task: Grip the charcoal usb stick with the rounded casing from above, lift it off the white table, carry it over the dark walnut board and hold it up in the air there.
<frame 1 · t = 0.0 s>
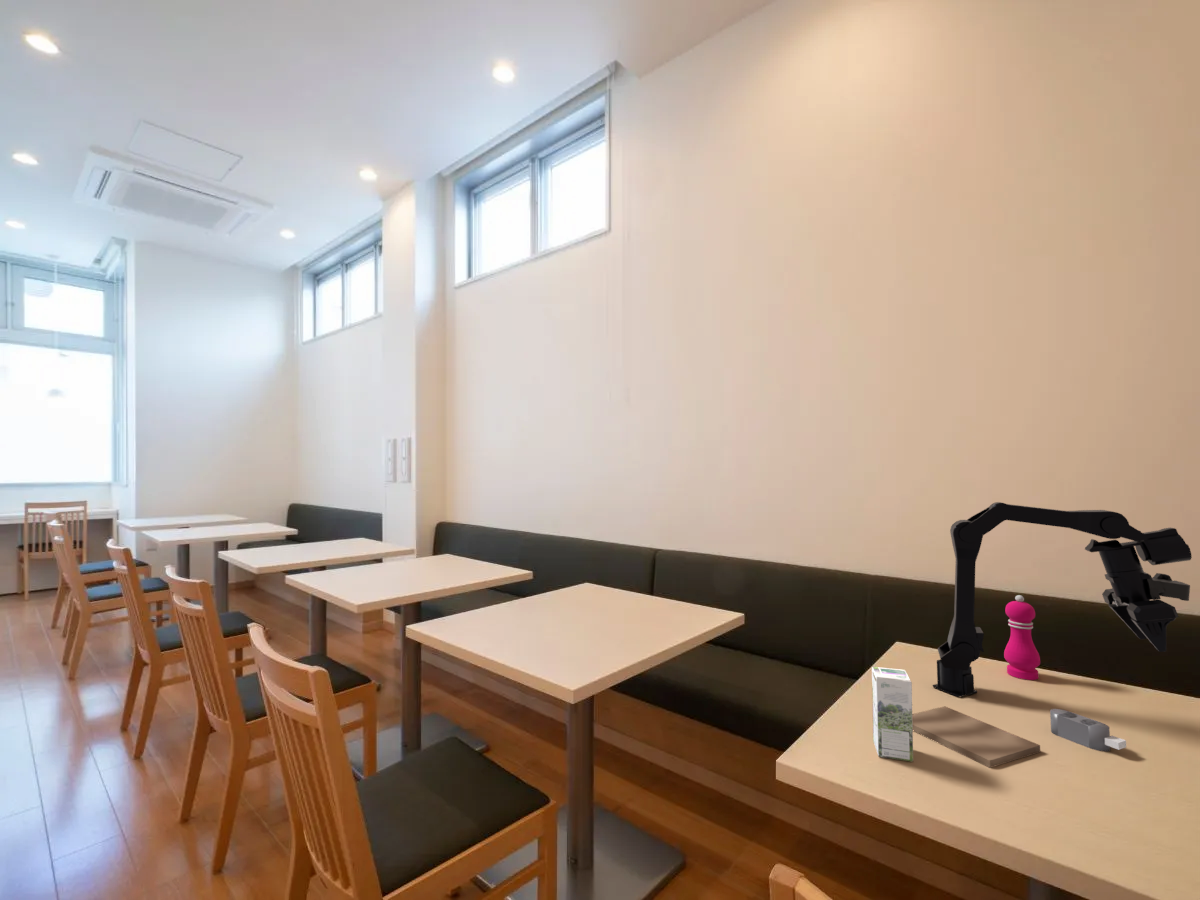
hand: (1152, 644, 111), 15 cm above the table, tool pointing down, fingers open, 9 cm apart
syrup box: (893, 753, 99), on the table
charcoal usb stick: (1079, 740, 103), on the table
walnut board: (965, 736, 104), on the table
pepper mill: (1022, 676, 136), on the table
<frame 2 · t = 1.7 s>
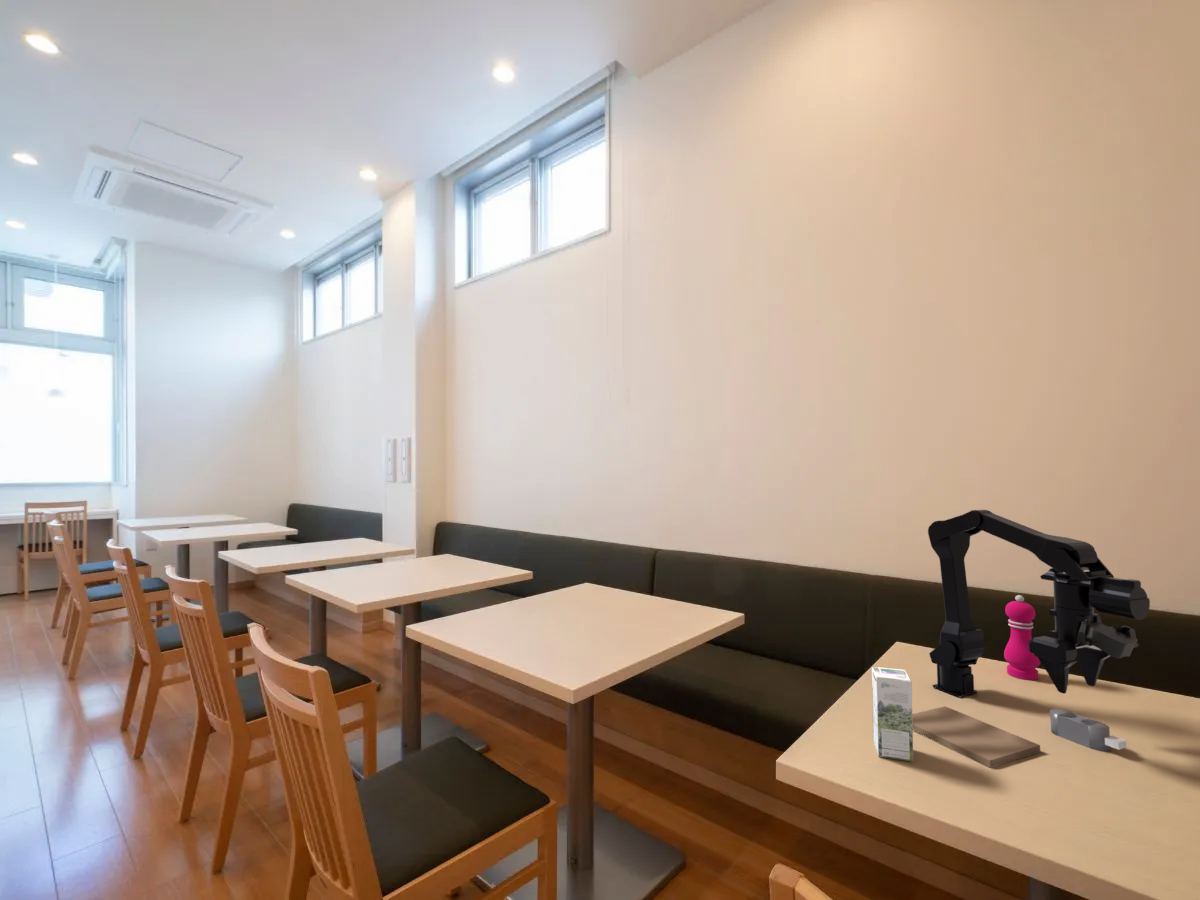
hand: (1076, 689, 104), 9 cm above the table, tool pointing down, fingers open, 9 cm apart
nothing on the table moved.
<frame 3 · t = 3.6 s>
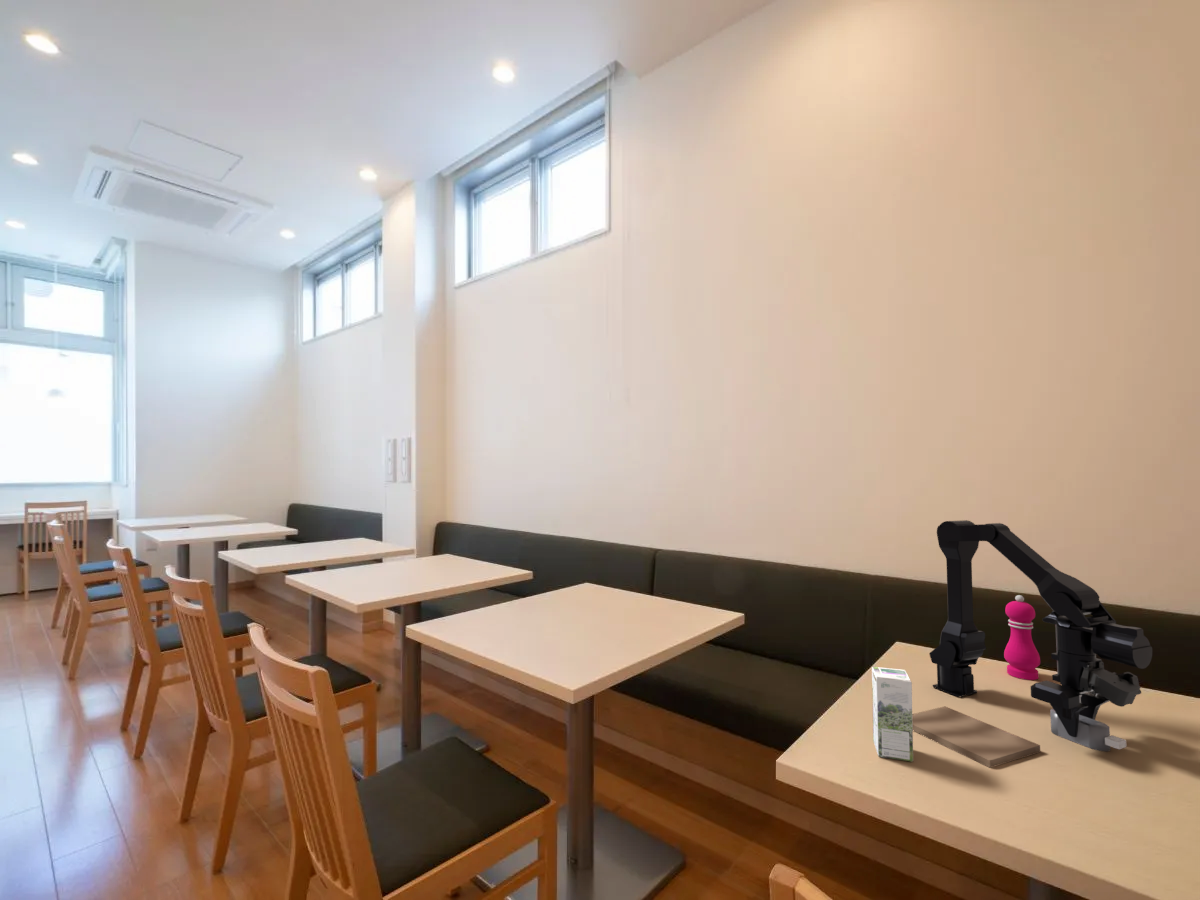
hand: (1079, 734, 103), 1 cm above the table, tool pointing down, fingers closed on charcoal usb stick, 4 cm apart
charcoal usb stick: (1079, 739, 103), on the table, touching gripper
everything else where it was.
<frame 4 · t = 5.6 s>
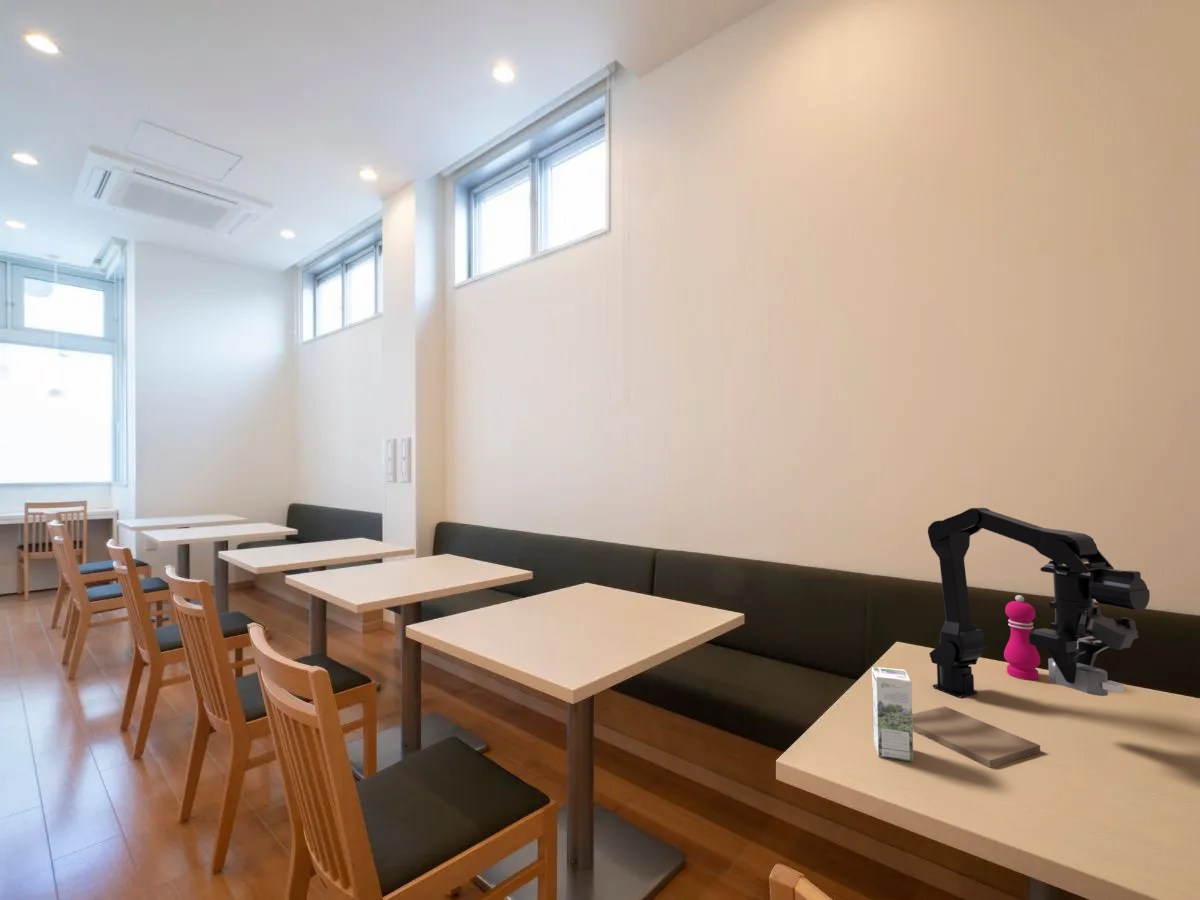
hand: (1077, 681, 104), 11 cm above the table, tool pointing down, fingers closed on charcoal usb stick, 4 cm apart
charcoal usb stick: (1077, 686, 103), point 10 cm above the table, touching gripper
everything else where it was.
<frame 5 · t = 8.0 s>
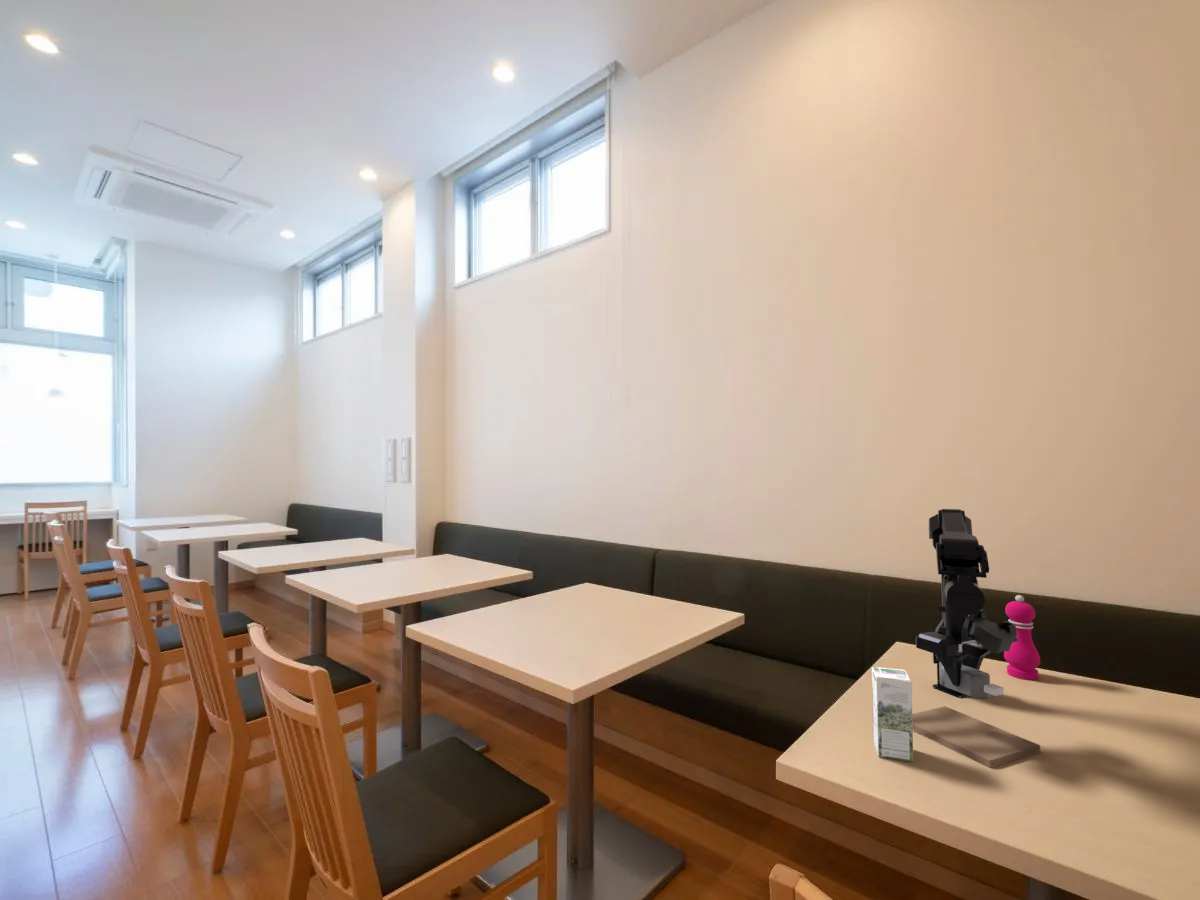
hand: (963, 684, 105), 10 cm above the table, tool pointing down, fingers closed on charcoal usb stick, 4 cm apart
charcoal usb stick: (964, 689, 105), point 9 cm above the table, touching gripper
everything else where it was.
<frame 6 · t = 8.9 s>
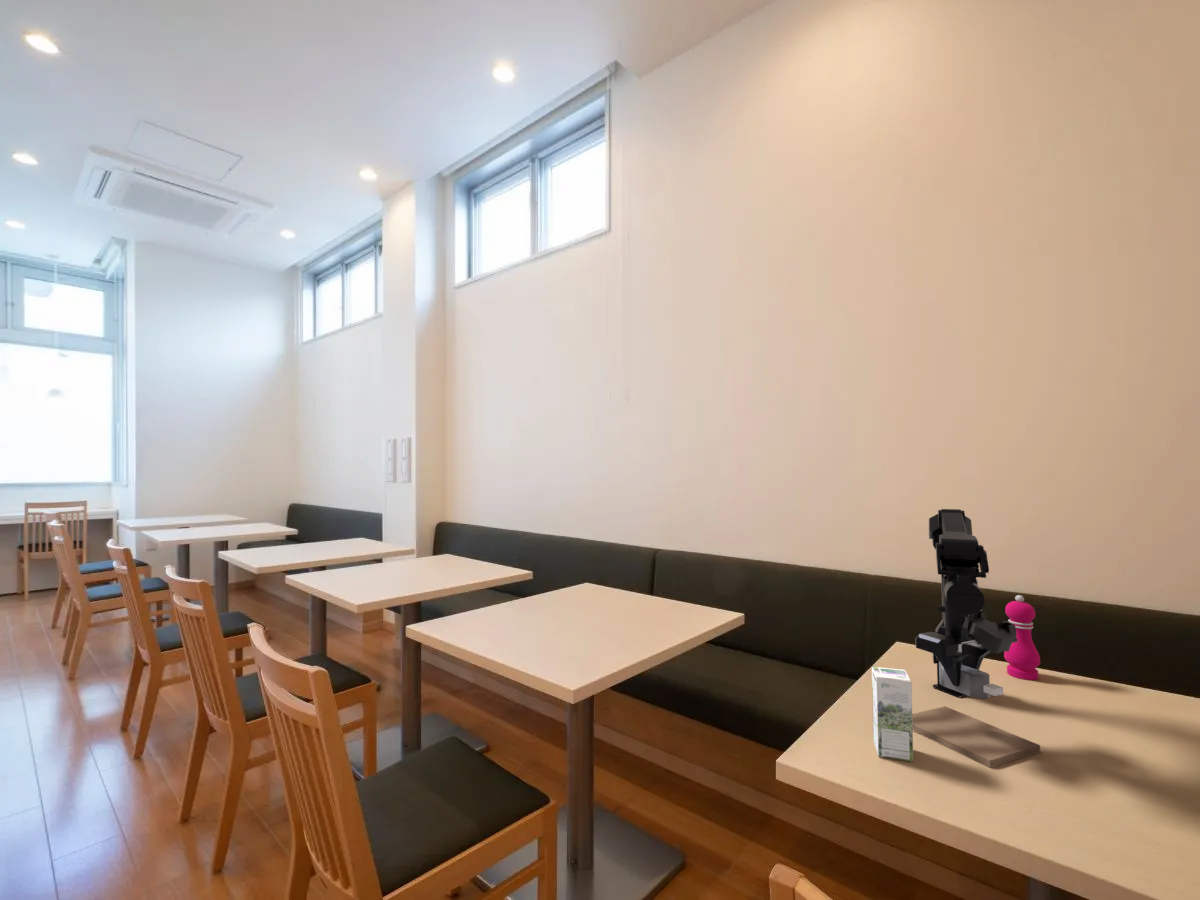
hand: (963, 684, 105), 10 cm above the table, tool pointing down, fingers closed on charcoal usb stick, 4 cm apart
charcoal usb stick: (964, 689, 105), point 9 cm above the table, touching gripper
everything else where it was.
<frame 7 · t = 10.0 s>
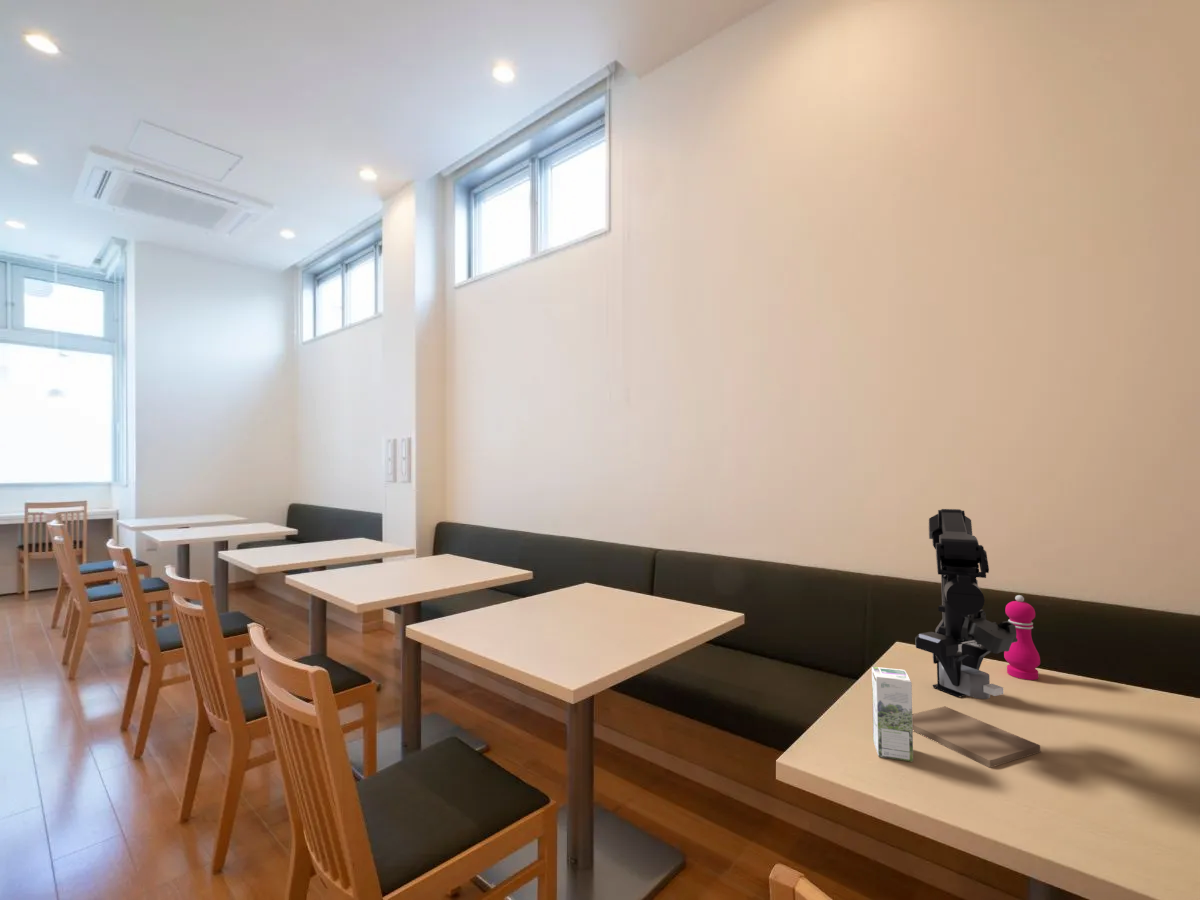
hand: (963, 684, 105), 10 cm above the table, tool pointing down, fingers closed on charcoal usb stick, 4 cm apart
charcoal usb stick: (964, 689, 105), point 9 cm above the table, touching gripper
everything else where it was.
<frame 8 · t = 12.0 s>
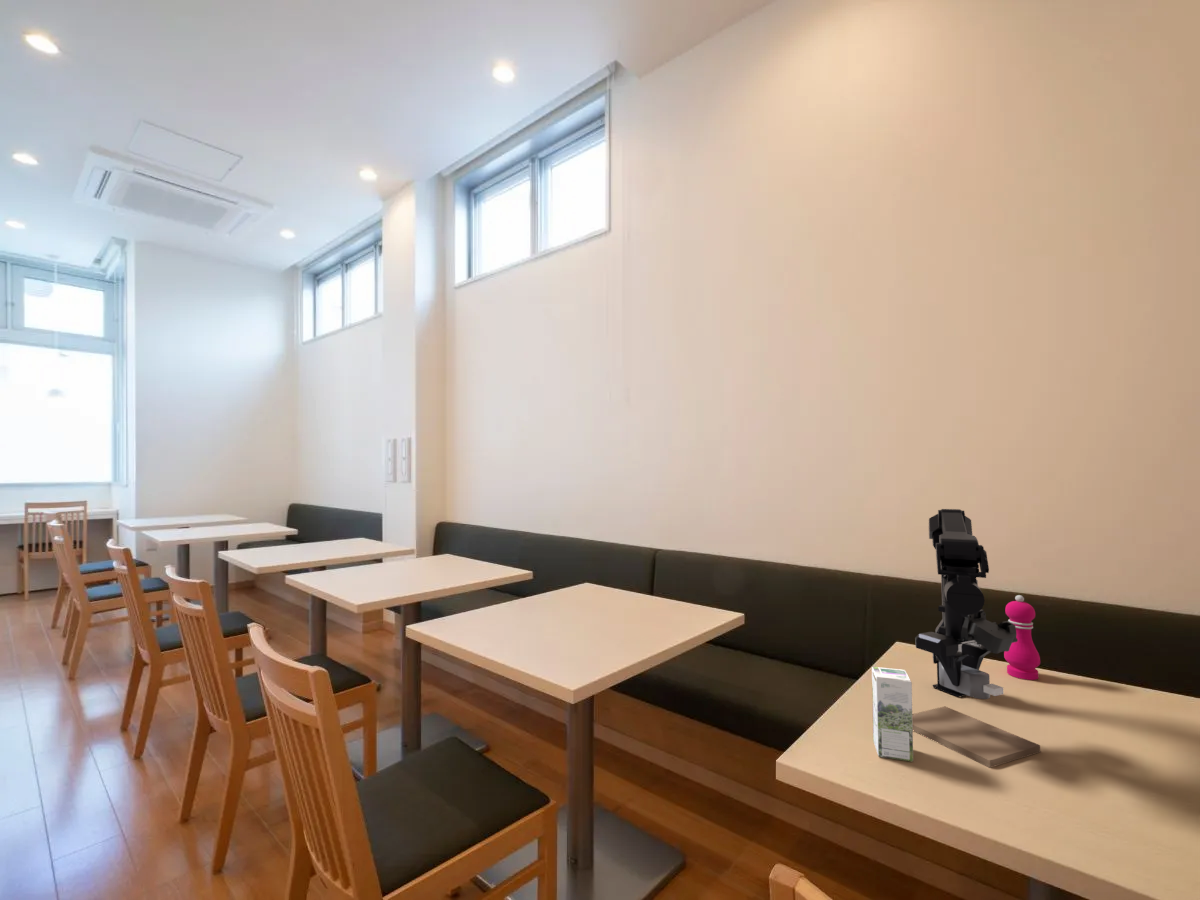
hand: (963, 684, 105), 10 cm above the table, tool pointing down, fingers closed on charcoal usb stick, 4 cm apart
charcoal usb stick: (964, 689, 105), point 9 cm above the table, touching gripper
everything else where it was.
at the end: the gripper is holding charcoal usb stick; charcoal usb stick inside the target area (0.1 cm from its centre), point 8.9 cm above the table; charcoal usb stick tilted 0° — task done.
